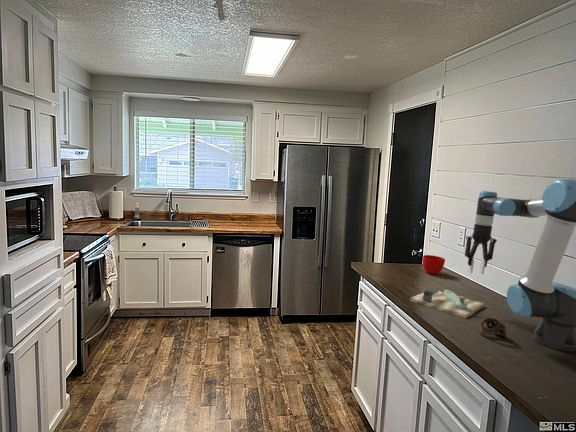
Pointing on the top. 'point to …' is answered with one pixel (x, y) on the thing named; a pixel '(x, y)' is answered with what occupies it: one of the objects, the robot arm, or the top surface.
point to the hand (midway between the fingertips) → (475, 272)
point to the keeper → (429, 294)
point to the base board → (449, 304)
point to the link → (455, 299)
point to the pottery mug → (492, 327)
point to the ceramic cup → (433, 264)
